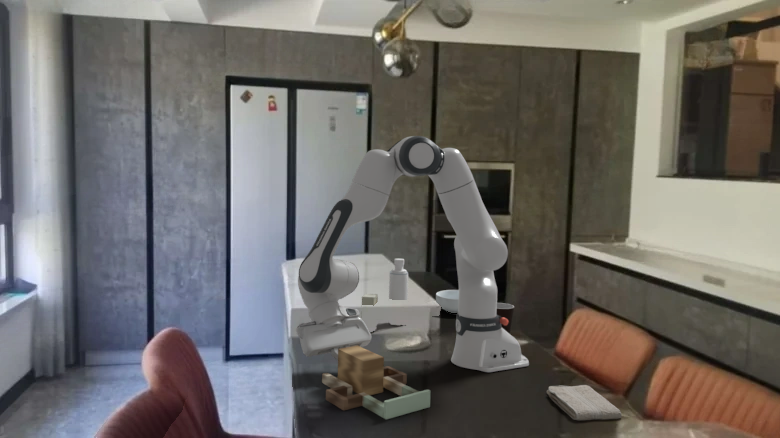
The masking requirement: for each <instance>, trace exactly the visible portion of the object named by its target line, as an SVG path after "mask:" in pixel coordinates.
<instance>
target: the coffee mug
mask: <svg viewBox="0 0 780 438" xmlns="http://www.w3.org/2000/svg"><path fill="white" fill-rule="evenodd" d="M514 310H515V306H514V305H513V304H510V303H503V302H497V315H498V316H500V317H504V318H506V319H508V320H509V322H508V325H503V324H501V326H502V328H503V329H504V330H506V331H507V332H508V333H509V334H510V335H511V329H512V323H513V317H514V312H515V311H514Z"/></svg>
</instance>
